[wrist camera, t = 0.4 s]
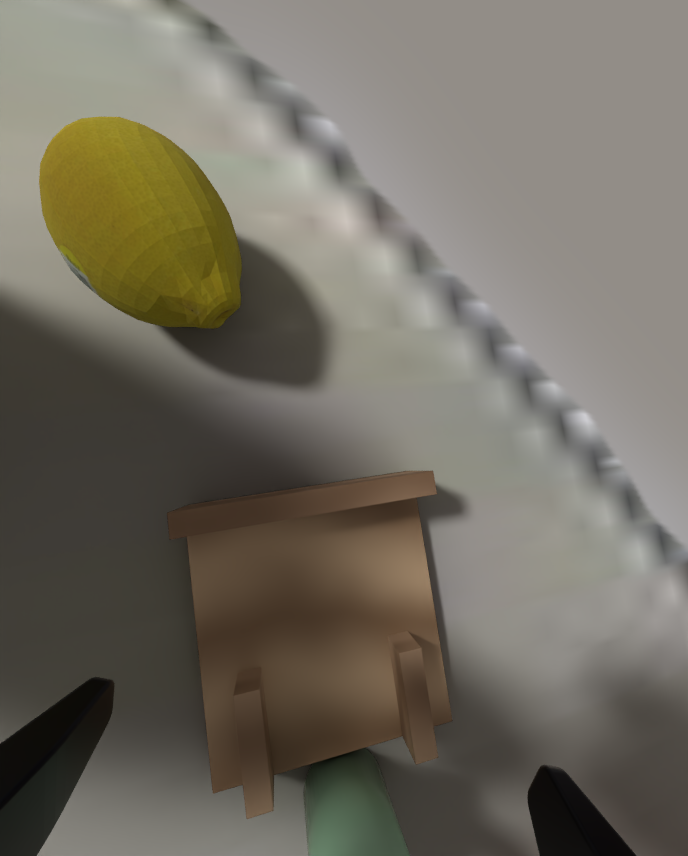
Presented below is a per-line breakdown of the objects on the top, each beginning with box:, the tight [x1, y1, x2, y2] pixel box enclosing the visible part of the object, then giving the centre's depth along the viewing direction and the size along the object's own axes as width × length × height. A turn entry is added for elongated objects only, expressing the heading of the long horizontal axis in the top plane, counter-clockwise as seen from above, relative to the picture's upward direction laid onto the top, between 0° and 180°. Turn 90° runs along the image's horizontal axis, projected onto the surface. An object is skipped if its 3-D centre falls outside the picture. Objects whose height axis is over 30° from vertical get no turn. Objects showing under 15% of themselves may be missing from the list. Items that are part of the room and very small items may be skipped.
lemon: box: [39, 117, 242, 329], centre depth 18 cm, size 11×8×8 cm
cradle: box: [167, 471, 452, 819], centre depth 19 cm, size 14×13×4 cm
